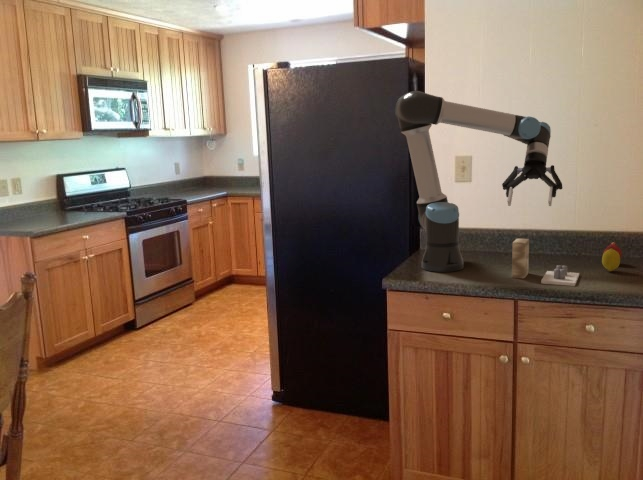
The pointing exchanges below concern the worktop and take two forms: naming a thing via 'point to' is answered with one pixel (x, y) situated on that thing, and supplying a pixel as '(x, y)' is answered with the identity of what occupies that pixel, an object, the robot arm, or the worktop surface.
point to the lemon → (611, 259)
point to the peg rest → (560, 276)
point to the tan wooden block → (520, 258)
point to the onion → (614, 248)
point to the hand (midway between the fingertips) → (529, 203)
